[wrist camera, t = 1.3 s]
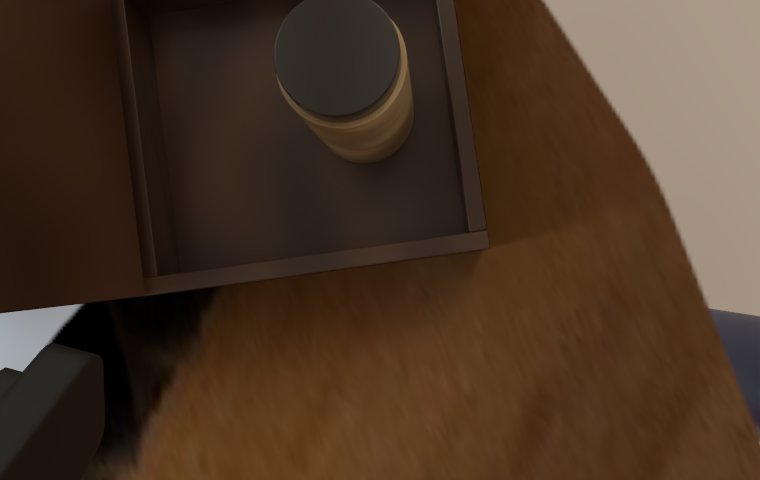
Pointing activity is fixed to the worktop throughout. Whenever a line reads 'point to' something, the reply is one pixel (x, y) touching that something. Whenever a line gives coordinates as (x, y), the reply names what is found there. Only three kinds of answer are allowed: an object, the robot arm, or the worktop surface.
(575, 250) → the worktop surface
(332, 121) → the beige jar
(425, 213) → the chest
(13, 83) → the chest lid
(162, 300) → the worktop surface
